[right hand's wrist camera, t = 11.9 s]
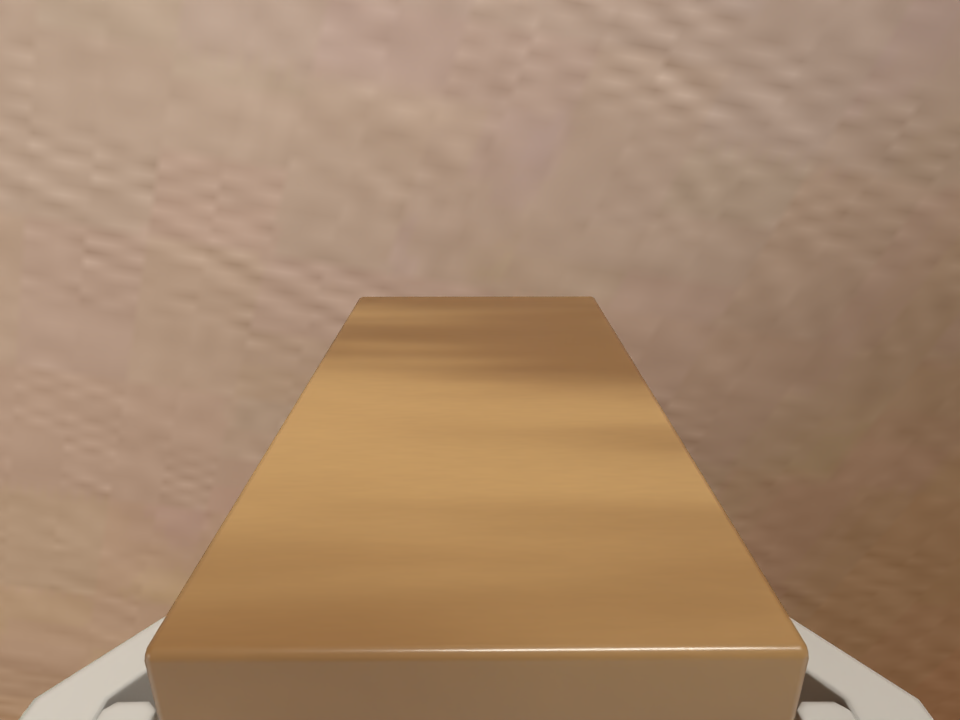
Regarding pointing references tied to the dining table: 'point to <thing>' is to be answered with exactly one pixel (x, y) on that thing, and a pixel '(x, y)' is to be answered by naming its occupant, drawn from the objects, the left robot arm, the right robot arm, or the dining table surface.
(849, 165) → the dining table surface
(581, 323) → the bar
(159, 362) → the dining table surface
